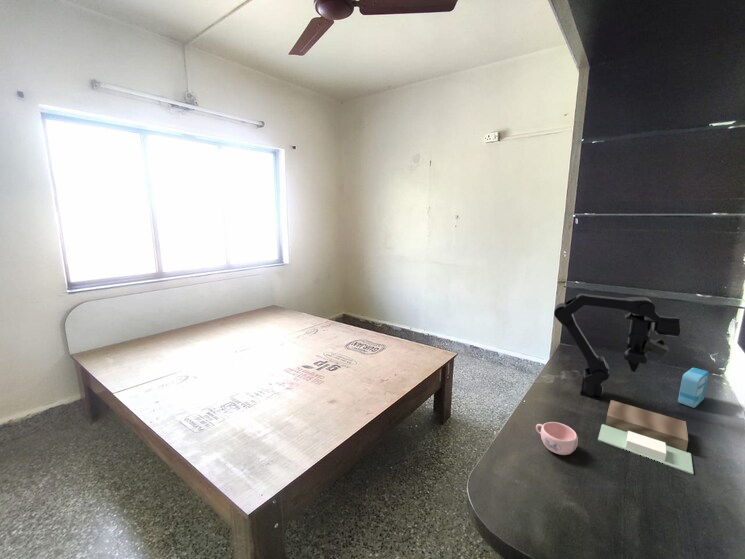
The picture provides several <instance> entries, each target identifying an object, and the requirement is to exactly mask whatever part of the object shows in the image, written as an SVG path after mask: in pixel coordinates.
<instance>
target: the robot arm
mask: <svg viewBox="0 0 745 559" xmlns="http://www.w3.org/2000/svg"><path fill="white" fill-rule="evenodd" d="M584 306H591V307H599V308H606V309H614V310H622V311H626V312H628V313H627V314H624V317H625V319H626V320H630V324H629V325H630V326H629V332H628V337H627V338H628V339H627V342H626V348H627V349H626V350H625V351H624V355H623V360H625V361H627V363H628V365H629V368H630V371H631V372H633V373H635V372H636V371H637V369H638V368H639V365H640V364H644V365H645V364H647V361H648V355H647V354H648V353H649V352H652V353H653V354H655V355H657V356H658V357H660V358H665V356H666V355H667V354H668V352H669V351H670V348H669V347H668V345H667V344H665V342H666V341H665V340H664V339H662V338H659V339H656V340H655V339H651V335H650V333H651V330H652V332H655V334H656V335H659V336H666V337H675V338H678V337H679V336H680V333H681V329H680V328H681V323H680V318H679V317H677V316H665V315H664V316H663V315H659V313H658V312H657V311H655V310H656V305H655V304H654V302H652V300H651V299H649V298H648V297H646V296H631V297H630V296H629V297H615V296H614V297H613V296H606V295H604V296H603V295H596V294H595V295H594V294H588V293H579V294H577V295H576V296H574V297H572V298H571V299H568V300H567V301H565V302H561V303H558V304H556V305H555V307H554V313H553V314H554V317H555V319H556V320H557V321H558V322H559V323H560V324H561V325H562V326H563V327H565V329H566V330H567V331H568V333H569V334H570V336H571V338H572V339H573V341H574V342H575V344H576V346H577V348H578V349H579V350H580V352H581V354H582V355H583V357H584V360H585V361H586V363H587V366H588V367H586V368H584V369H583V377H582V380H581V387H580V388H581V389H580V391H579V395H581V396H584V397H588V398H591V399H594V400H597V401H600V398H602V397H603V391H604V384H603V382H605V381H607V380H608V379H609V378H610V373H609V372H610V371H611V370H610V365H609V363H608V362H607V361H606V360H605V357H604V355H601V356H599V355H598V354H597V353H595V351H594V349H593V348H592V346H591V345H590V342H589V341H588V340H587V338H586V336H585V335H584V333H583V332H582V330H581V328H580V327H579V326H578V324H577V321H576V318H575V315H574V314H575V313H576V312H578V311H579V310H580V309H581V308H582V307H584Z"/></svg>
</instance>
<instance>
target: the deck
mask: <svg viewBox="0 0 745 559" xmlns="http://www.w3.org/2000/svg"><path fill="white" fill-rule="evenodd" d="M605 425H607V426H610V427H613V428H616V429H619V430H622V431H625V432H628V431H631V432H634V433H637V434H640V435H643V436H646V437H649V438H652V439H656V440H659V441H662V442H665V444H666V445H667V446H670V447H673V448H676V449H679V450H682V451H685V452H687V451H688V450H687V449H688V445H689V444H688V443H689V435H688V429H687V421H685V420H682V419H677V418H674V417H671V416H667V415H664V414H661V413H658V412H655V411H651V410H646V409H643V408H641V407H636V406H633V405H630V404H626V403H623V402H619V401H616V400H613V399H610V402H609V406H608V410H607V414H606V420H605Z"/></svg>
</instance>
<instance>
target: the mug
mask: <svg viewBox="0 0 745 559" xmlns="http://www.w3.org/2000/svg"><path fill="white" fill-rule="evenodd" d="M539 428H540V429H539ZM535 431H536V432H537V434H539V435H540V437H541V441H542V443H543V445H544V446H545V448H546V449H548V450H549V451H550V452H551V453H553V454H554V453H555V454H556V455H559V456H567V455H571V454H573V453H574V452H575V450H576V449H577V447H578V442H579V438H578V435H577V433H576V431H575V430H574V429H573V428H571V427H570V426H569V425H567V424H564V423H562V422H561V423H560V422H558V421H557V422H556V421H549V422H545V423H543V424H542V423H537V424H536V425H535Z"/></svg>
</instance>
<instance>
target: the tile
mask: <svg viewBox="0 0 745 559" xmlns="http://www.w3.org/2000/svg"><path fill="white" fill-rule="evenodd" d="M626 448H628V449H631V450H634V451H637V452H639V453H642V454H645V455H648V456H651V457H654V458H657V459H660V460H662V461H665V458H666V444H665V442H662V441H659V440H656V439H652V438H649V437H646V436H643V435H640V434H637V433H634V432H631V431H628V433H627V441H626Z"/></svg>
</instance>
